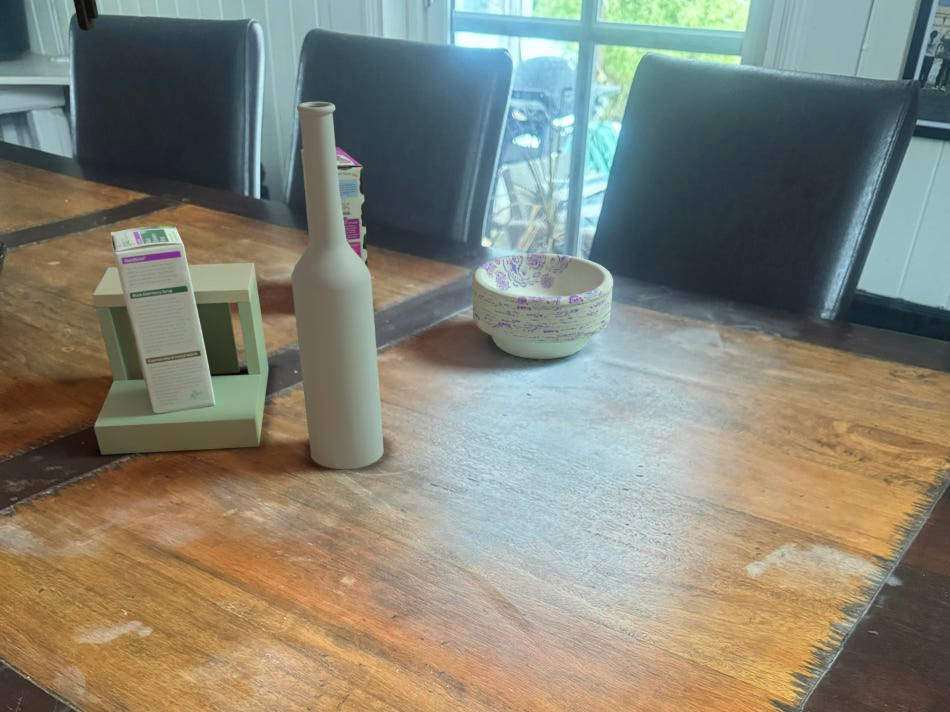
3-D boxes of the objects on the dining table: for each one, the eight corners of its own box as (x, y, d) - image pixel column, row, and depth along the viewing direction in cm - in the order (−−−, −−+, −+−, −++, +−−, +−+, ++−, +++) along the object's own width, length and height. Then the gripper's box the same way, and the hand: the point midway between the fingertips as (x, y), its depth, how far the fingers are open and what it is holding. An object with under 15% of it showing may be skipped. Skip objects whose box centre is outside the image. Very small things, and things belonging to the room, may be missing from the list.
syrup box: (217, 406, 86) (187, 240, 77) (151, 416, 85) (112, 248, 76) (207, 382, 91) (178, 222, 82) (144, 391, 89) (107, 229, 80)
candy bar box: (373, 313, 114) (364, 164, 104) (333, 318, 113) (319, 168, 102) (350, 284, 122) (339, 144, 112) (312, 289, 121) (297, 147, 111)
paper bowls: (534, 383, 98) (538, 307, 93) (445, 340, 107) (444, 269, 102) (635, 348, 106) (643, 276, 101) (544, 311, 115) (547, 243, 110)
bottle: (372, 433, 89) (347, 94, 72) (392, 464, 84) (371, 109, 67) (303, 444, 87) (261, 99, 70) (320, 477, 82) (279, 115, 65)
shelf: (101, 457, 85) (68, 335, 78) (133, 376, 99) (108, 267, 92) (259, 448, 86) (240, 328, 79) (269, 370, 100) (253, 262, 93)
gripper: (-172, -240, 69) (-86, 35, 80) (72, -236, 71) (124, 33, 82) (-133, -231, 75) (-58, 25, 86) (92, -226, 77) (138, 24, 87)
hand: (31, 29), depth 84 cm, fingers open, 9 cm apart
